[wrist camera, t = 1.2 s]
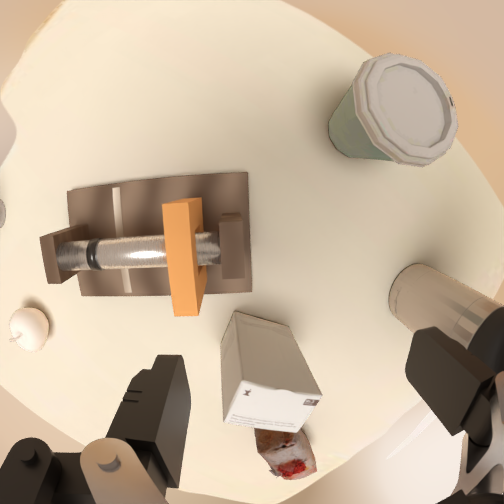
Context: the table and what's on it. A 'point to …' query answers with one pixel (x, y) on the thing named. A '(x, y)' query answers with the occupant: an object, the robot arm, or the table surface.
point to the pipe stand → (156, 231)
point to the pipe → (131, 252)
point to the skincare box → (265, 376)
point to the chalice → (2, 213)
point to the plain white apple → (29, 329)
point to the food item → (286, 453)
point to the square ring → (184, 254)
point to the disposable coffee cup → (395, 113)
